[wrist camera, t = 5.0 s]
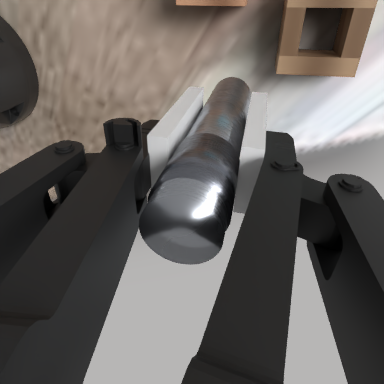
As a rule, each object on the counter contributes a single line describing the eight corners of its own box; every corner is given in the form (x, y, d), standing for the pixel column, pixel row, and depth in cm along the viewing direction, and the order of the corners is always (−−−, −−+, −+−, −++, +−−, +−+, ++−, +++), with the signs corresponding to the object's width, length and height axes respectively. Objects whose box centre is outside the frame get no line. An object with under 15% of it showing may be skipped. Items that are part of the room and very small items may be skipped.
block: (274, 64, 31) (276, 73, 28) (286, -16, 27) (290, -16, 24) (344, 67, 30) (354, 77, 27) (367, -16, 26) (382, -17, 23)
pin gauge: (210, 114, 19) (139, 257, 9) (212, 73, 18) (131, 188, 8) (249, 118, 19) (222, 274, 9) (255, 77, 18) (231, 203, 7)
